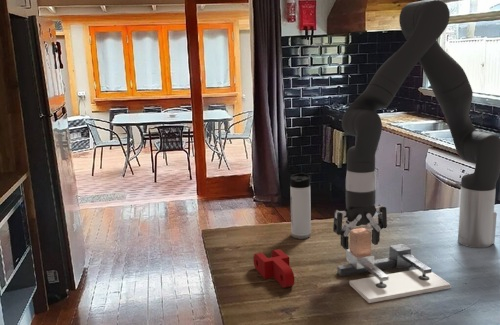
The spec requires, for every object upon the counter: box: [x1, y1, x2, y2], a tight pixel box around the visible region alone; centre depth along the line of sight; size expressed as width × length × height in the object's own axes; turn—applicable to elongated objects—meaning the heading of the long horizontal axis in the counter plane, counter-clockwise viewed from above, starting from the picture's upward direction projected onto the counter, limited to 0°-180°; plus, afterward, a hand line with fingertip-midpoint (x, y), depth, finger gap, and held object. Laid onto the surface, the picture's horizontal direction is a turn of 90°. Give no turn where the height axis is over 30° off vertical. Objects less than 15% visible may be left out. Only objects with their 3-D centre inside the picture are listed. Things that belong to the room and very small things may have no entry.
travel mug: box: [289, 172, 312, 240], centre depth 156 cm, size 6×7×20 cm
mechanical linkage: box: [253, 249, 295, 289], centre depth 130 cm, size 16×7×5 cm, turn 21°
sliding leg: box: [345, 227, 389, 285], centre depth 125 cm, size 5×16×10 cm, turn 15°
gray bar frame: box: [336, 243, 433, 277], centre depth 127 cm, size 22×14×5 cm, turn 105°
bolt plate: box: [349, 268, 451, 304], centre depth 122 cm, size 22×10×1 cm, turn 105°
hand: (360, 246), depth 130 cm, fingers open, 8 cm apart
